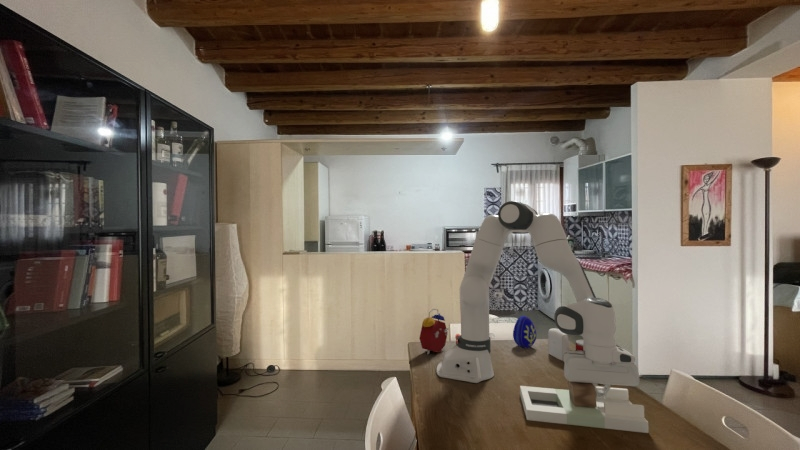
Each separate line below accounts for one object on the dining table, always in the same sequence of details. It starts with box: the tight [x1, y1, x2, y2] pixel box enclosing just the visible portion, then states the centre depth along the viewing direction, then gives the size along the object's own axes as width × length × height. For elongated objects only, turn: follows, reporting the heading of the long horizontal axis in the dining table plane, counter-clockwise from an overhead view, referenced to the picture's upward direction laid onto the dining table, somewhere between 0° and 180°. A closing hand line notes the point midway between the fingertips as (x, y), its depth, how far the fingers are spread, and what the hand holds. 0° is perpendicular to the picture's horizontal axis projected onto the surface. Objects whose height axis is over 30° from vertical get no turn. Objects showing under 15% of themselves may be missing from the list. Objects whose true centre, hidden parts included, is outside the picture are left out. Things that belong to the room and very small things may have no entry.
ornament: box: [512, 315, 537, 349], centre depth 164 cm, size 11×9×15 cm
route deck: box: [519, 385, 650, 434], centre depth 105 cm, size 32×16×6 cm, turn 77°
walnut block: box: [567, 380, 597, 407], centre depth 105 cm, size 6×6×6 cm
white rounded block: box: [547, 327, 570, 362], centre depth 150 cm, size 10×4×12 cm, turn 13°
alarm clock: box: [419, 308, 450, 355], centre depth 158 cm, size 15×9×20 cm, turn 141°
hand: (600, 397), depth 104 cm, fingers closed
